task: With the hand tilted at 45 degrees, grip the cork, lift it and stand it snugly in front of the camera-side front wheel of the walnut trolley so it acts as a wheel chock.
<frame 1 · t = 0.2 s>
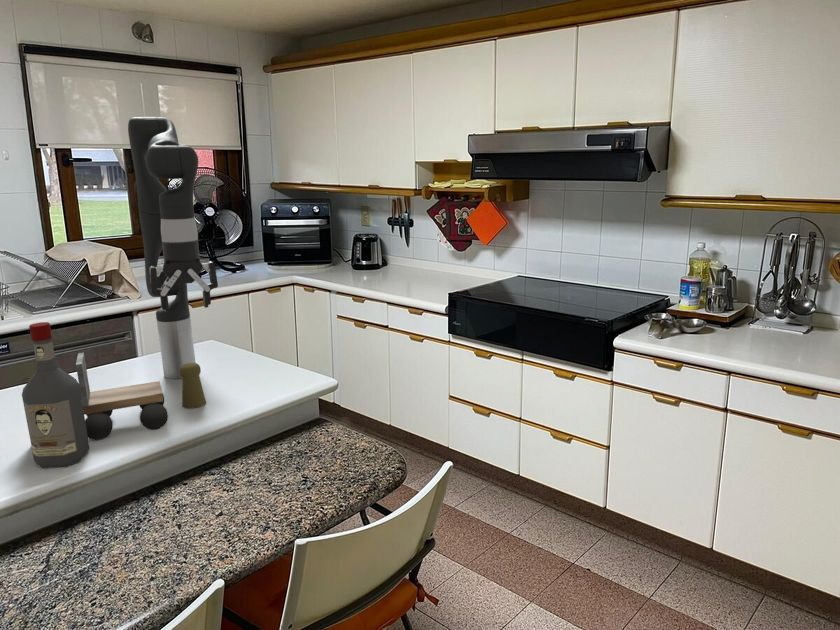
hand: (186, 309, 147), 29 cm above the kitchen island, tool pointing down, fingers open, 8 cm apart
trolley: (127, 424, 156), on the kitchen island
cork: (194, 404, 168), on the kitchen island
liquor: (63, 459, 138), on the kitchen island
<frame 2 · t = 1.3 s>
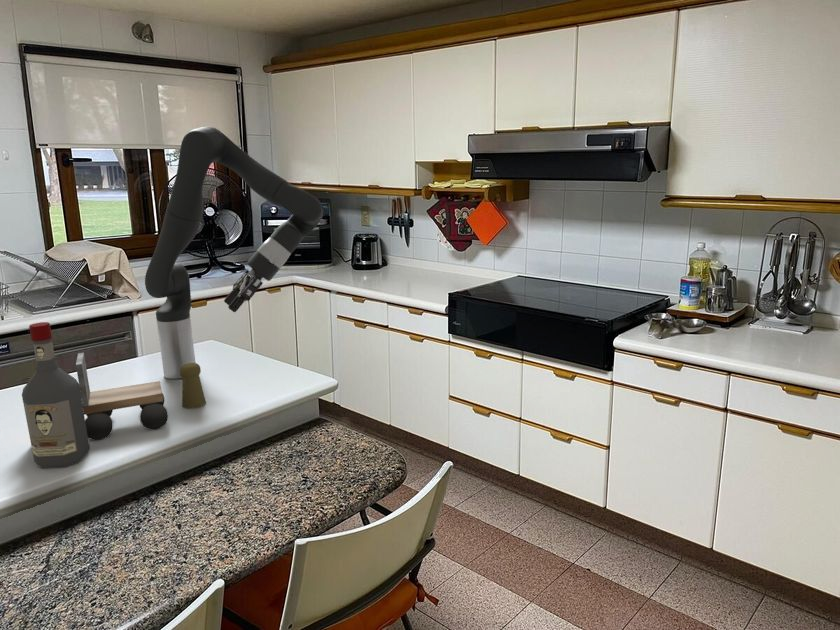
hand: (228, 306, 166), 25 cm above the kitchen island, tool tilted 45°, fingers open, 8 cm apart
nothing on the kitchen island moved.
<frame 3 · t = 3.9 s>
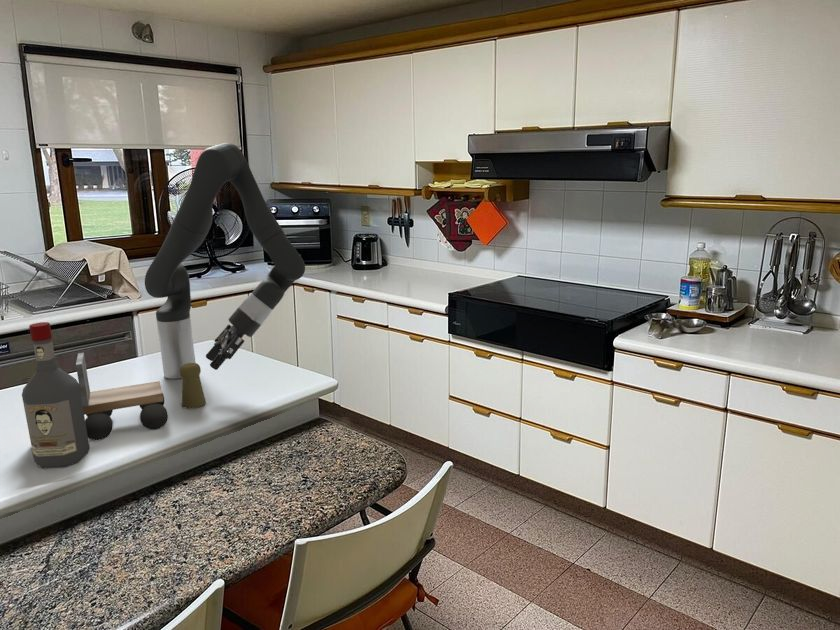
hand: (210, 363, 167), 10 cm above the kitchen island, tool tilted 45°, fingers open, 8 cm apart
nothing on the kitchen island moved.
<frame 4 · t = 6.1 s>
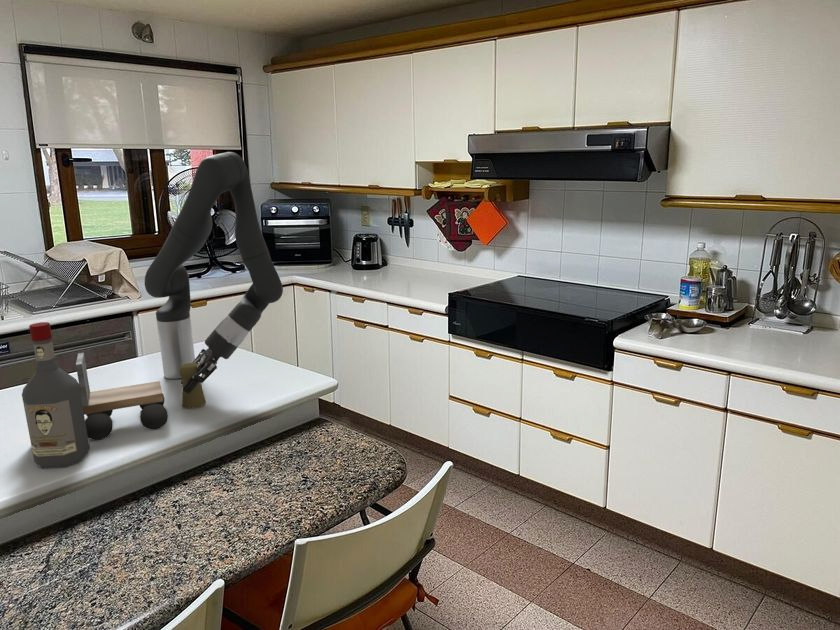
hand: (184, 388, 166), 5 cm above the kitchen island, tool tilted 45°, fingers closed on cork, 4 cm apart
cork: (194, 404, 168), on the kitchen island, touching gripper
everything else where it was.
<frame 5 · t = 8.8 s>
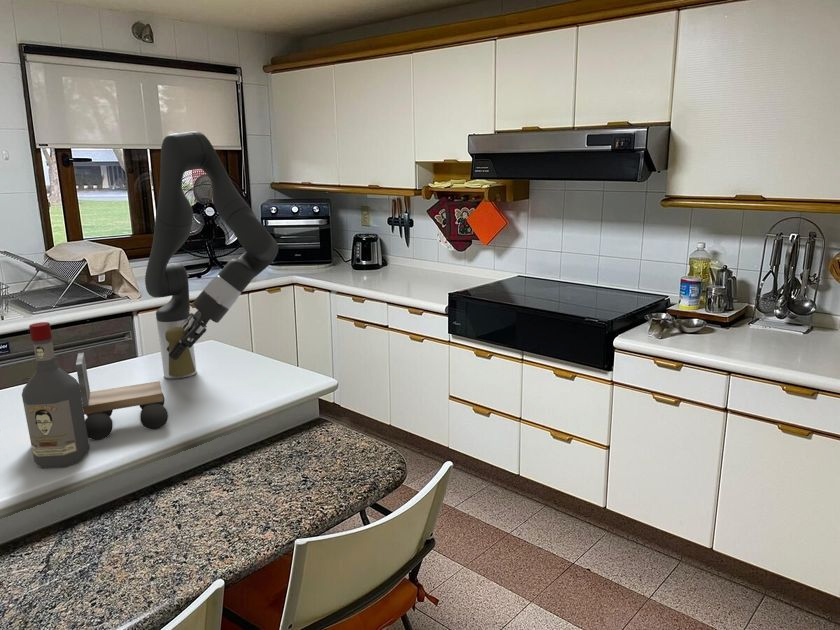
hand: (170, 354, 152), 17 cm above the kitchen island, tool tilted 45°, fingers closed on cork, 4 cm apart
cork: (182, 373, 154), point 12 cm above the kitchen island, touching gripper
everything else where it was.
when the fingers open (6 cm above the kitchen island, at t = 11.4 s): cork drops 1 cm, on the kitchen island.
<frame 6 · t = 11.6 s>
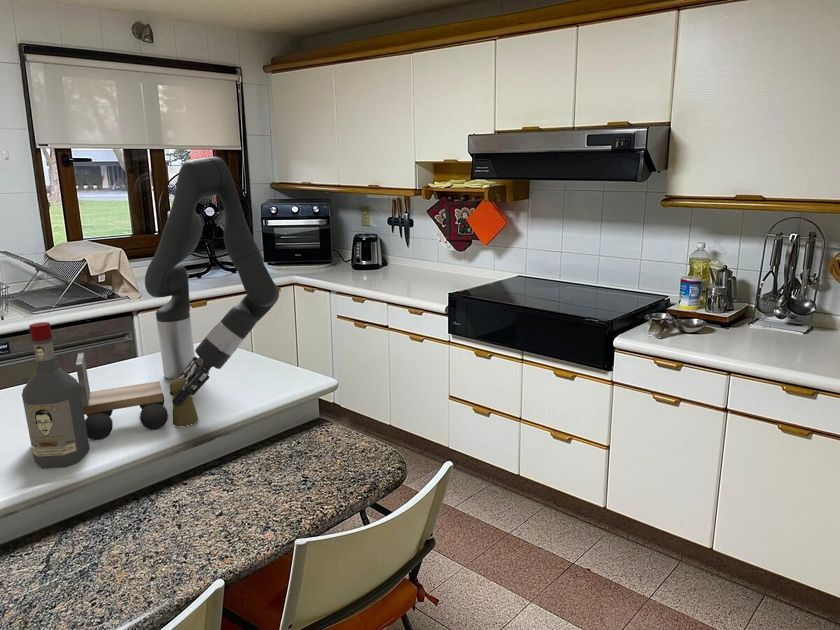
hand: (174, 399, 154), 6 cm above the kitchen island, tool tilted 45°, fingers open, 6 cm apart
cork: (185, 422, 156), on the kitchen island, touching gripper
everything else where it was.
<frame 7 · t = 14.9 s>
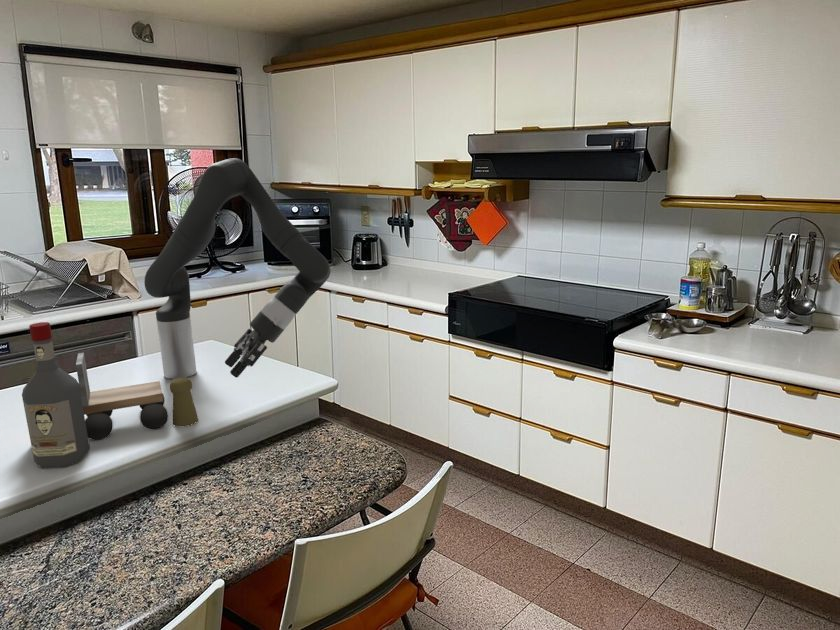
hand: (230, 370, 158), 11 cm above the kitchen island, tool tilted 45°, fingers open, 8 cm apart
cork: (185, 422, 156), on the kitchen island
everything else where it was.
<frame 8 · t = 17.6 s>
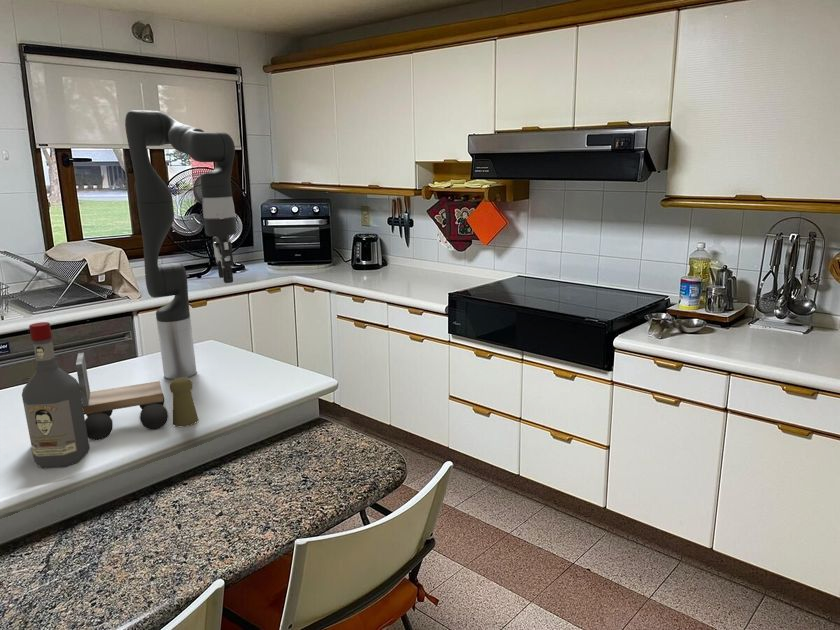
hand: (226, 280, 163), 32 cm above the kitchen island, tool pointing down, fingers open, 8 cm apart
nothing on the kitchen island moved.
at the end: cork 0.6 cm from the target spot, on the kitchen island; cork tilted 0°; the gripper is holding nothing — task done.
